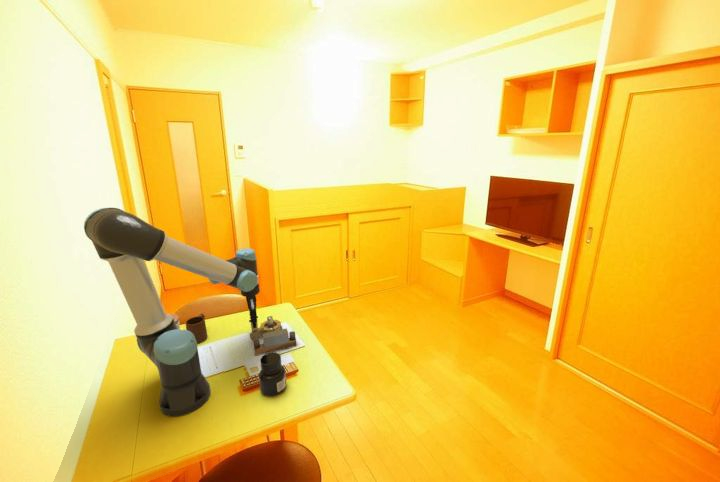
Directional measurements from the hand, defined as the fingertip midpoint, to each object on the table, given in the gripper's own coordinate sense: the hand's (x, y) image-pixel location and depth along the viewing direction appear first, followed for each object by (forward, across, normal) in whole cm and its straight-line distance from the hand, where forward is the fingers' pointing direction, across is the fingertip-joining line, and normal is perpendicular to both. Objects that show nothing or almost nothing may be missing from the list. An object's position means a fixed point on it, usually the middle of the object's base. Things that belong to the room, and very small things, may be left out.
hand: (255, 332), depth 144 cm
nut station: (+2, +2, -7) cm, 8 cm away
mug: (+3, +11, +23) cm, 25 cm away
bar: (-1, -12, -7) cm, 14 cm away
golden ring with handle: (+1, 0, -4) cm, 5 cm away
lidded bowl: (+3, +15, +37) cm, 40 cm away
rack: (+2, -12, -7) cm, 14 cm away
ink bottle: (+1, -36, -2) cm, 36 cm away
